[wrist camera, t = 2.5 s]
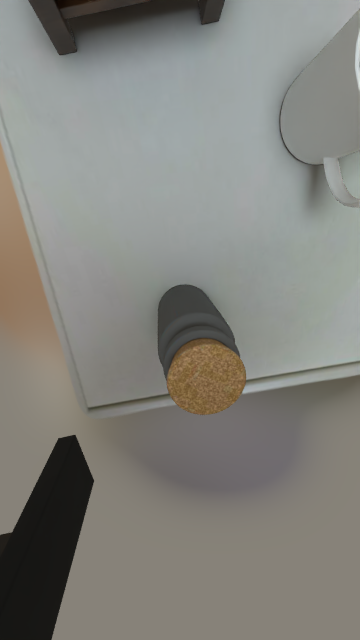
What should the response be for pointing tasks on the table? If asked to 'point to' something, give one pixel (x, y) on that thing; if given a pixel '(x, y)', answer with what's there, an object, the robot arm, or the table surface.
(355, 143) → the mug
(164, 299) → the bottle
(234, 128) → the table surface
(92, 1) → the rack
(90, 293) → the table surface
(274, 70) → the table surface
